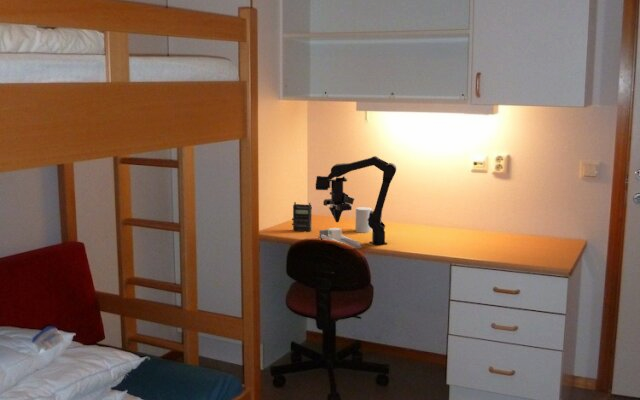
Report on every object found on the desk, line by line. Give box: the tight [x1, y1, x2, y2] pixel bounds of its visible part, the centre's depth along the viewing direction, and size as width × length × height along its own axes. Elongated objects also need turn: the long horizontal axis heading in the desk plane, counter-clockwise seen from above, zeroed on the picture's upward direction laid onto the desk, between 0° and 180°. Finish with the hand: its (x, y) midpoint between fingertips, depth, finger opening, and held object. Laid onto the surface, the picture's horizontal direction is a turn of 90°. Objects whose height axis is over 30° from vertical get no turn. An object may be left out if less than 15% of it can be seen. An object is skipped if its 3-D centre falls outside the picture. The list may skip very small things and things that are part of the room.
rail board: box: [317, 229, 363, 249], centre depth 347 cm, size 26×10×4 cm, turn 27°
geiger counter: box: [291, 201, 313, 233], centre depth 373 cm, size 10×4×15 cm, turn 77°
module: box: [327, 227, 343, 240], centre depth 351 cm, size 5×5×5 cm
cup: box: [355, 206, 372, 234], centre depth 374 cm, size 8×8×12 cm
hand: (337, 222), depth 348 cm, fingers closed
